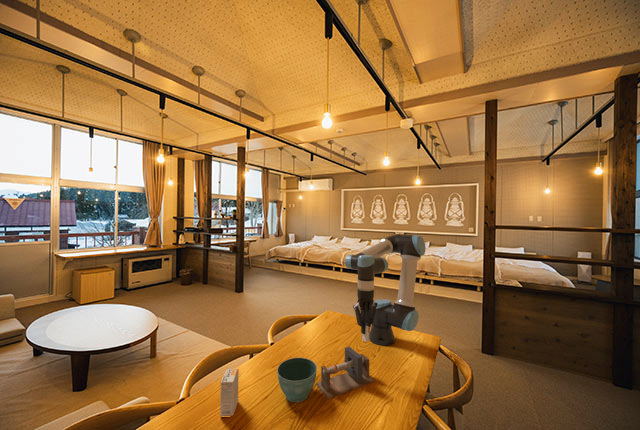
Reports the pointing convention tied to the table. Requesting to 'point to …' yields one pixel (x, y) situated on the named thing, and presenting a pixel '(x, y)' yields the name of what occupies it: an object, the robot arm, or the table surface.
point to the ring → (357, 369)
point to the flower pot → (297, 378)
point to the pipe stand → (342, 378)
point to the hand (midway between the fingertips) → (365, 340)
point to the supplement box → (229, 392)
